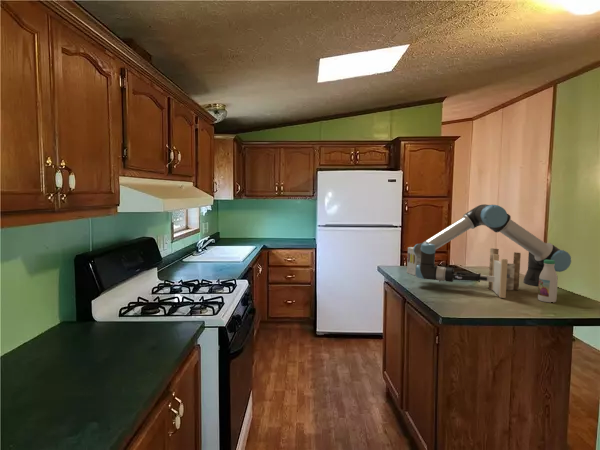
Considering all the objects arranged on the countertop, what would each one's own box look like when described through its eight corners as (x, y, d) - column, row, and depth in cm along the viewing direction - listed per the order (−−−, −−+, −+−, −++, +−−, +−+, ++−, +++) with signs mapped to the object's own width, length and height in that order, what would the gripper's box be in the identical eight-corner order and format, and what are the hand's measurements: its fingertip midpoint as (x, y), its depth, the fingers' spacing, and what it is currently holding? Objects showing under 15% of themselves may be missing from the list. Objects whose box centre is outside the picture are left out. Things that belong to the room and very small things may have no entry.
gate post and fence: (516, 288, 219) (518, 248, 218) (520, 290, 215) (522, 249, 214) (487, 288, 219) (489, 248, 217) (490, 290, 215) (492, 249, 213)
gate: (491, 289, 214) (493, 254, 213) (500, 289, 213) (502, 254, 212) (500, 297, 197) (502, 259, 195) (510, 298, 196) (512, 259, 194)
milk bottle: (551, 299, 198) (553, 259, 196) (559, 303, 190) (562, 261, 189) (534, 298, 199) (537, 258, 197) (542, 302, 191) (545, 261, 189)
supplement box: (406, 272, 260) (407, 247, 258) (418, 272, 263) (419, 246, 261) (415, 275, 250) (416, 249, 249) (427, 275, 253) (428, 248, 252)
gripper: (447, 278, 221) (494, 284, 210) (443, 283, 210) (493, 289, 198) (447, 265, 220) (495, 269, 209) (443, 269, 209) (493, 274, 198)
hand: (494, 279), depth 204 cm, fingers closed
